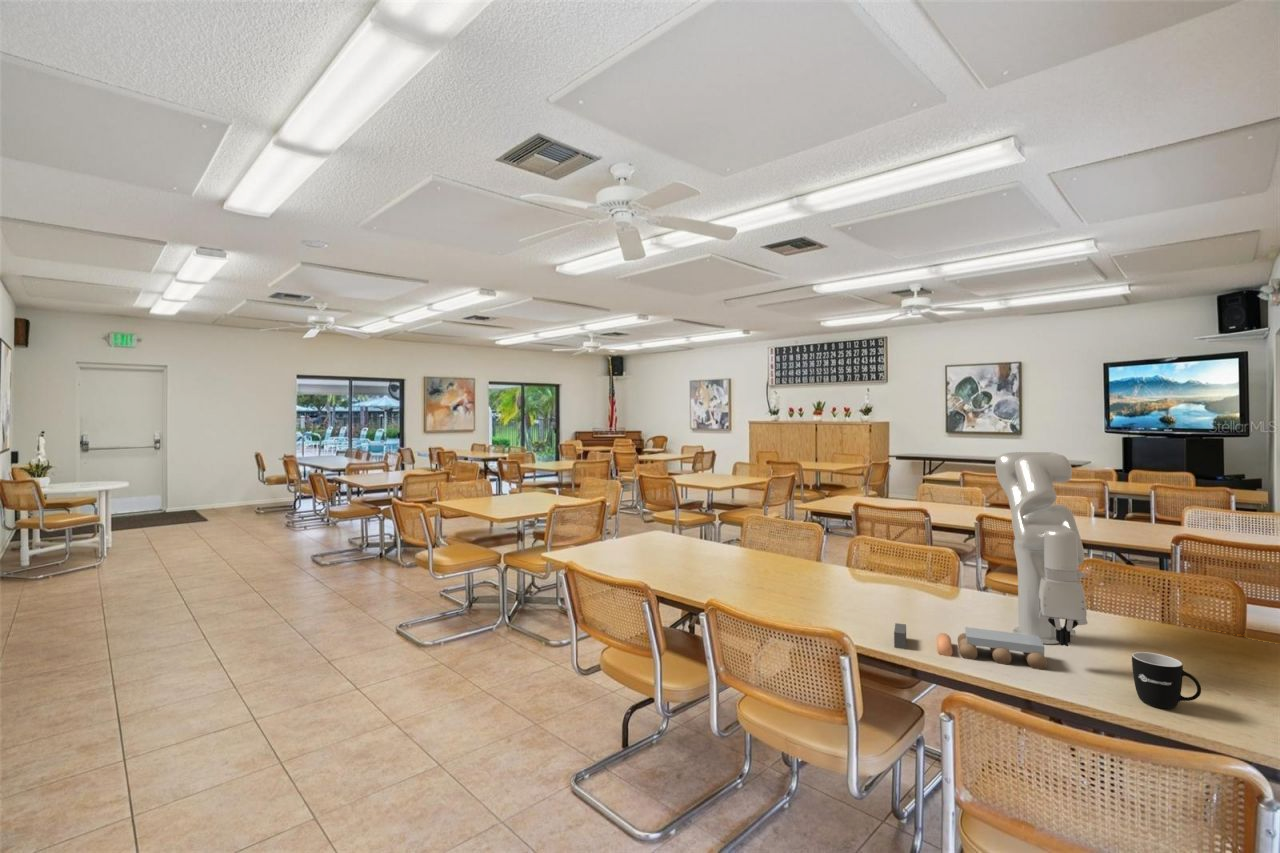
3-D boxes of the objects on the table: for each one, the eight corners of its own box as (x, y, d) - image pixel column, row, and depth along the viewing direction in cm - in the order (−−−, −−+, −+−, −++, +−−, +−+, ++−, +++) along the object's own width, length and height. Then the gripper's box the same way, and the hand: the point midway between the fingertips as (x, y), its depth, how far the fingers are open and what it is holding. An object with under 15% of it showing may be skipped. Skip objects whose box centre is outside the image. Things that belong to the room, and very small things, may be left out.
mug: (1128, 701, 139) (1128, 658, 139) (1136, 690, 145) (1135, 649, 145) (1199, 720, 130) (1198, 674, 130) (1204, 707, 136) (1203, 663, 136)
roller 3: (1021, 655, 168) (1021, 640, 168) (1040, 657, 166) (1039, 641, 166) (1027, 668, 159) (1026, 652, 159) (1047, 670, 157) (1046, 654, 157)
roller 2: (957, 647, 174) (957, 632, 175) (975, 649, 173) (974, 633, 173) (959, 659, 165) (959, 643, 166) (977, 661, 164) (977, 645, 164)
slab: (1038, 643, 165) (1038, 636, 165) (1044, 654, 157) (1044, 646, 157) (965, 634, 173) (965, 627, 173) (967, 644, 165) (967, 636, 165)
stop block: (906, 640, 180) (906, 624, 180) (905, 650, 172) (905, 633, 172) (895, 639, 181) (895, 623, 181) (894, 649, 173) (894, 632, 173)
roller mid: (989, 651, 171) (988, 636, 171) (1006, 653, 169) (1006, 637, 169) (992, 663, 162) (992, 647, 162) (1011, 666, 160) (1011, 649, 160)
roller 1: (934, 640, 177) (941, 630, 176) (946, 648, 176) (953, 638, 175) (934, 651, 168) (942, 641, 167) (947, 660, 167) (955, 650, 166)
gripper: (1091, 575, 160) (1093, 644, 159) (1026, 570, 166) (1028, 636, 165) (1099, 580, 153) (1101, 652, 152) (1030, 575, 159) (1032, 644, 159)
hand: (1063, 644), depth 159 cm, fingers closed
